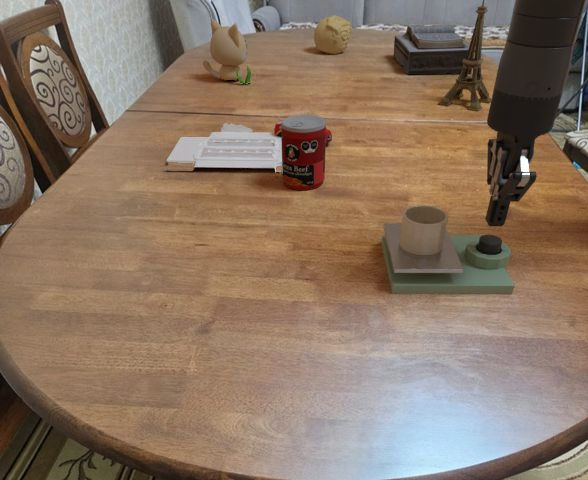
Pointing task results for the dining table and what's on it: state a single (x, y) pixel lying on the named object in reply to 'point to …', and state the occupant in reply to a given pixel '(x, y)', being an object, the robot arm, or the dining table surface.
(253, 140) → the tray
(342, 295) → the dining table surface
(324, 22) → the sculpture
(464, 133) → the dining table surface
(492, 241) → the tare button
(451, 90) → the eiffel tower
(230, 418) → the dining table surface
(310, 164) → the canned food
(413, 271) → the platform
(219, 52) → the kitten
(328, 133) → the race car
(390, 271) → the scale
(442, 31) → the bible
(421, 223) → the cup
